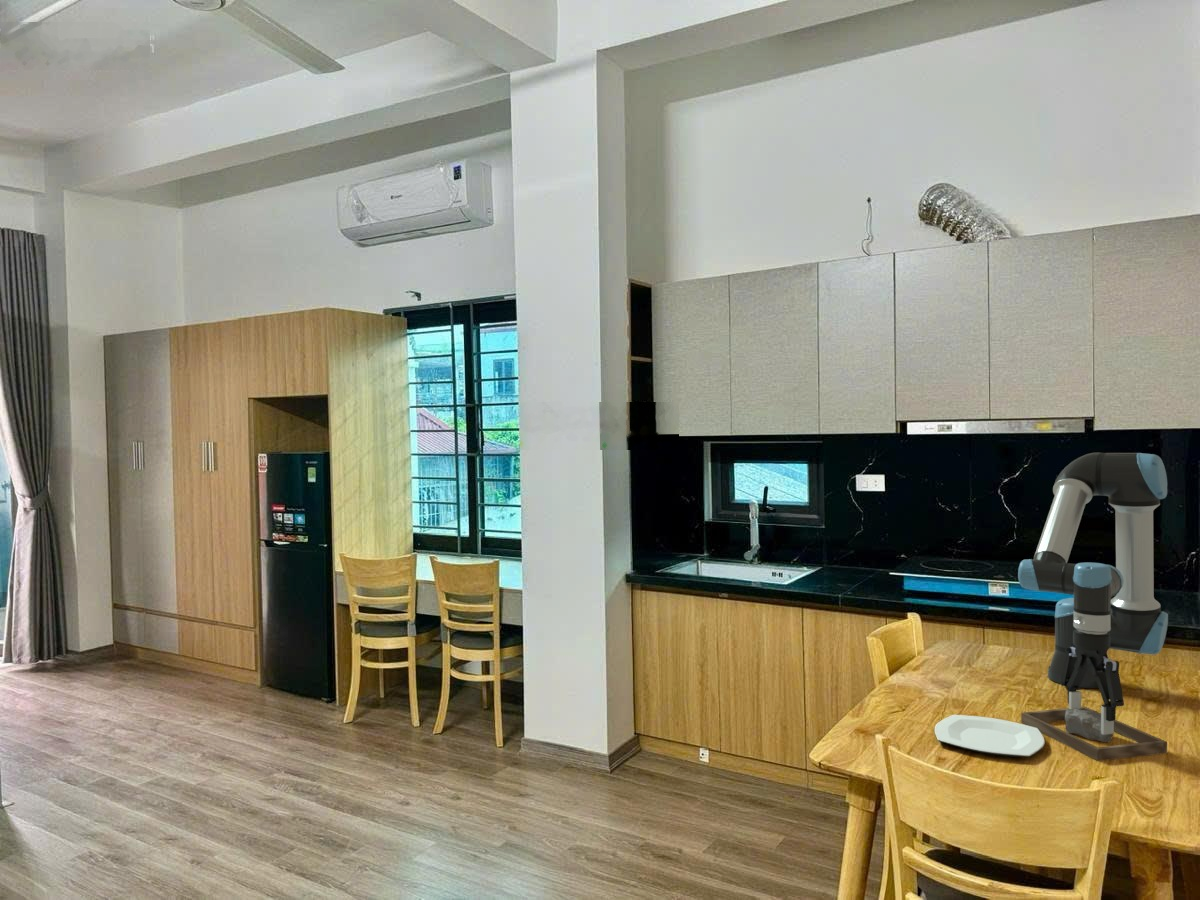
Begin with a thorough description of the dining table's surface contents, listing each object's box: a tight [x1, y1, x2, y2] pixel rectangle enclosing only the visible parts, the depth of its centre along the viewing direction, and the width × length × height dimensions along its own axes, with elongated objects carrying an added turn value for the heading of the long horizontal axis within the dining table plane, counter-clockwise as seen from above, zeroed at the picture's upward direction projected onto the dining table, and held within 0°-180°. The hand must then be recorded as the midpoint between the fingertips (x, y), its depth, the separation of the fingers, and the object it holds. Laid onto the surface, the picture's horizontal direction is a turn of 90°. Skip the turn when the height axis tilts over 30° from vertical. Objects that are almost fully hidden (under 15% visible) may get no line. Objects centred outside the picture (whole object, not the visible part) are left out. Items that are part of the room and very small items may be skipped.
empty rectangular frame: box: [1020, 706, 1168, 762], centre depth 201 cm, size 18×24×2 cm
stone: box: [1064, 708, 1114, 743], centre depth 201 cm, size 8×10×6 cm
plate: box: [934, 714, 1046, 758], centre depth 200 cm, size 23×23×2 cm
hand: (1090, 726), depth 201 cm, fingers closed on stone, 9 cm apart
